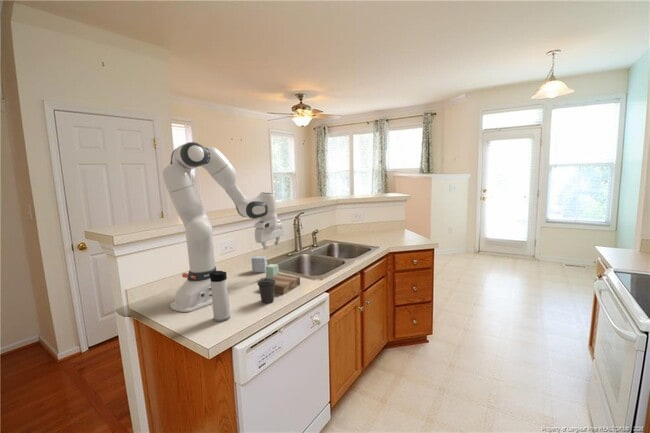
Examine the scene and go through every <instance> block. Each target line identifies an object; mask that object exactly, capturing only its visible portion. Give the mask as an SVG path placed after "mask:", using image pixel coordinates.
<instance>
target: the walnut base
mask: <svg viewBox="0 0 650 433" xmlns="http://www.w3.org/2000/svg"><path fill="white" fill-rule="evenodd" d="M268 279H273V280H275V282H276V283H275V285H274V294H278V295H282V296H283V295H285V294H287V293H289V292H291V291H292V290H294V289H296V288H298V287H299V286H301V277H299V276H295V275H288V274H284V273H280V272H279V273H278V274H276V275H274V276H272V277H270V278H268Z"/></svg>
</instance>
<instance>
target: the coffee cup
mask: <svg viewBox="0 0 650 433" xmlns="http://www.w3.org/2000/svg"><path fill="white" fill-rule="evenodd" d="M275 283H276V282H275V280H273V279H266V278H265V279H261V280H259V281H258V282H257V286H258V289H259V295H260V300H261V303H262V304H263V305H268V304H270V305H271V304H273V303H274V300H275V293H274V285H275Z"/></svg>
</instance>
